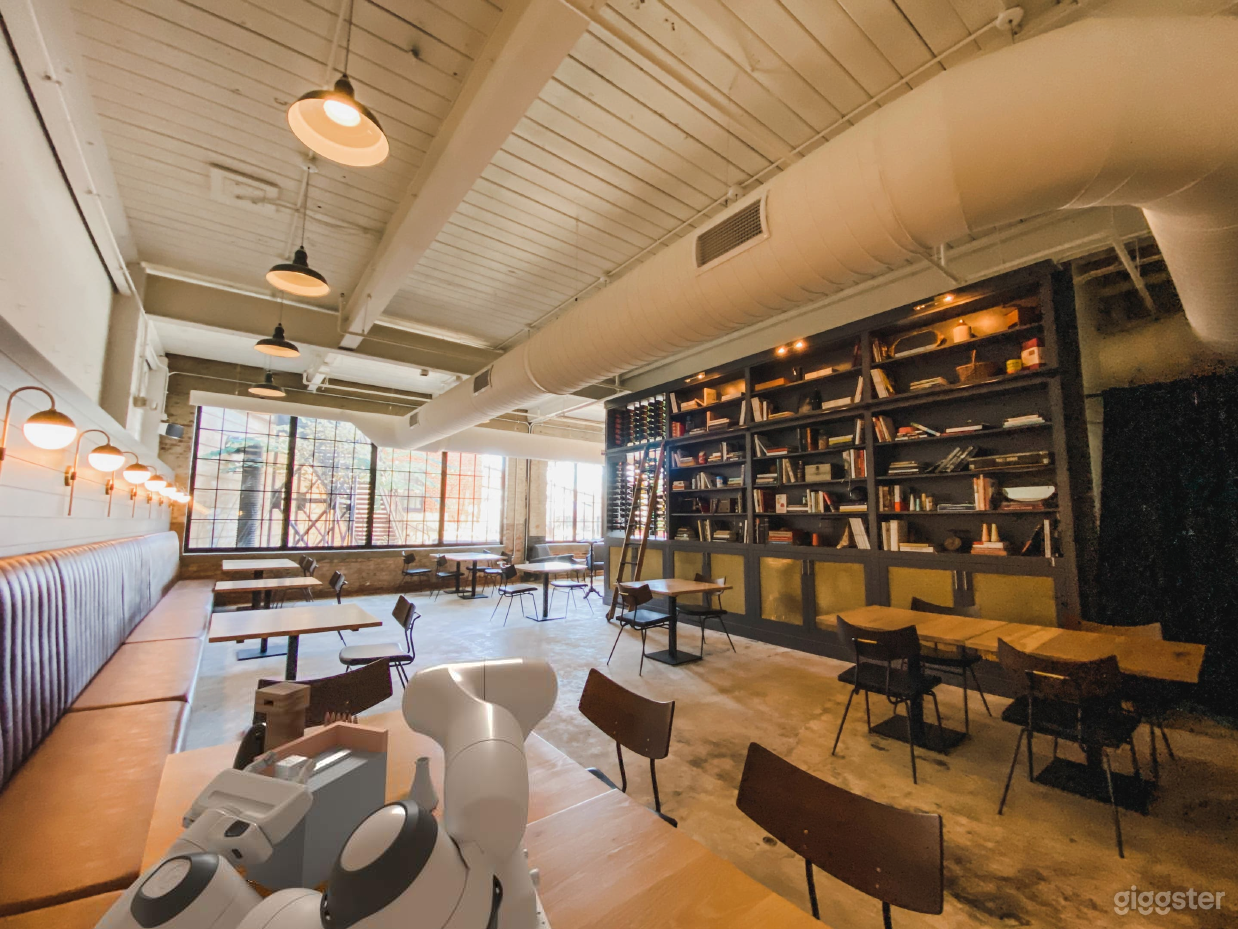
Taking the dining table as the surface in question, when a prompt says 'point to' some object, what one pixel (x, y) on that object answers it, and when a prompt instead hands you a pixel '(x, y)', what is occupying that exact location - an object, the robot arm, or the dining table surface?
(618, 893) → the dining table surface
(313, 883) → the slate crate
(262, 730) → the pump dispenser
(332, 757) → the aluminium bracket
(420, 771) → the flask
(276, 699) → the walnut post
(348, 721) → the ammunition clip
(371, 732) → the terracotta walls
